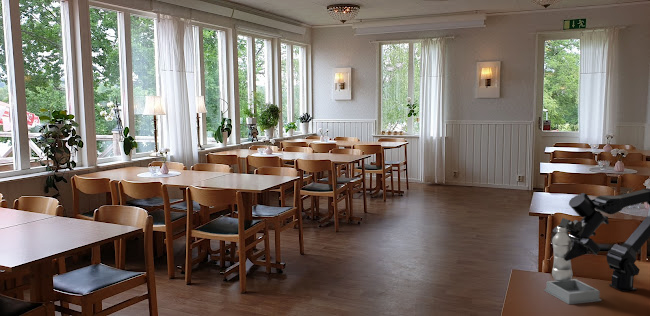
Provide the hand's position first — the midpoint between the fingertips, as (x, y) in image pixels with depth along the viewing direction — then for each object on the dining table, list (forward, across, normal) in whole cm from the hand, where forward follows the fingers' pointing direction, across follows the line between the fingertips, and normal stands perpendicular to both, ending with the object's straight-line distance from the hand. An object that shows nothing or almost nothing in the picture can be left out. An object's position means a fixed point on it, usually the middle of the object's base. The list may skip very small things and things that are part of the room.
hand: (559, 257), depth 178 cm
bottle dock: (+7, +3, +12) cm, 14 cm away
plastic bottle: (+5, 0, +7) cm, 9 cm away
